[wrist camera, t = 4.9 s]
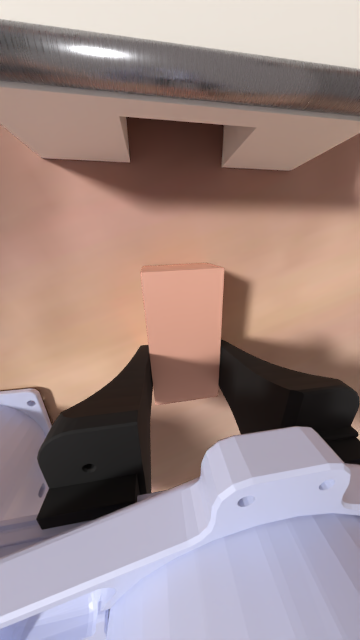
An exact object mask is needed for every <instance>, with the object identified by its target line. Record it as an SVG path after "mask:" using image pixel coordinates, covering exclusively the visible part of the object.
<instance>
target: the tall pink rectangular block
mask: <svg viewBox="0 0 360 640" xmlns="http://www.w3.org/2000/svg"><path fill="white" fill-rule="evenodd" d="M140 275H141V284H142V293H143V301H144V310H145V319H146V327H147V336H148V345H149V353H150V362H151V371H152V379H153V388H154V397H155V405H161V404H168V403H175V402H182V401H189V400H196V399H203V398H210V397H217V396H218V386H219V366H220V346H221V326H222V306H223V286H224V268H223V267H220V266H216V265H213V264H209V263H196V264H177V265H158V266H143V267H142V269H141V272H140Z"/></svg>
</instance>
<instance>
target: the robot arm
mask: <svg viewBox="0 0 360 640" xmlns="http://www.w3.org/2000/svg"><path fill="white" fill-rule="evenodd" d="M219 387H220V389H221V391H222V393H223V395H224V396H225V398H226V400H227V402H228V404H229V406H230V408H231V410H232V412H233V415H234V417H235V420H236V423H237V425H238V428H239V430H240V433H241V435H234V436H230V437H227V438H225V439H222V440H219V441H217V442H216V443H215V444H214V445H212V446H211V447H210V448H209V449H208V450H207V451H206V453H205V456H204V458H203V460H202V463H201V475H200V477H198V478H195V479H193V480H191V481H188V482H186V483H183V484H181V485H178V486H176V487H173V488H171V489H168V490H165V491H159V492H154V493H151V457H150V414H151V403H152V391H153V379H152V371H151V362H150V353H149V345H143V346H140V347H139V349H138V351H137V352H136V354H135V355H134V357H133V358H132V359H131V361H130V362H129V363H128V364H127V366H126V367H125V368H124V369H123V370H122V371H121V372H120V374H119V375H118V376H117V377H115V378H114V379H113V380H112V381H111V382H110V383H108V384H107V385H106V386H104V387H103V388H102V389H101V390H99V391H98V392H96V393H95V394H93V395H92V396H90V397H89V398H87V399H85V400H84V401H82V402H80V403H78V404H76V405H75V406H73V407H71V408H69V409H67V410H65V411H63V412H61V413H60V415H59V416H58V418H57V419H56V421H55V422H54V424H53V425H51V423H50V420H49V417H48V414H47V412H46V409H45V406H44V403H43V401H42V398H41V395H40V393H39V391H37V390H36V389H31V388H29V389H20V390H10V391H0V640H360V441H359V440H358V439H357V438H356V437H358V435H359V434H358V432H357V431H356V430H355V429H353V428H352V427H351V424H352V422H353V419H354V417H355V415H356V413H357V411H358V408H359V396H358V394H357V392H356V391H354V390H353V389H352V388H350V387H349V386H347V385H346V384H345V383H343V382H342V381H340V380H339V379H333V378H327V377H321V376H315V375H310V374H306V373H301V372H297V371H293V370H290V369H286V368H283V367H280V366H277V365H274V364H271V363H269V362H266V361H263V360H261V359H259V358H256V357H254V356H252V355H250V354H248V353H246V352H244V351H242V350H240V349H239V348H237V347H235V346H233V345H231V344H229V343H228V342H226V341H224V340H221V346H220V366H219ZM33 401H34V402H33Z"/></svg>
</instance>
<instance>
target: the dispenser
mask: <svg viewBox="0 0 360 640" xmlns="http://www.w3.org/2000/svg"><path fill="white" fill-rule="evenodd" d="M126 117H135V118H147V119H160V120H172V121H184V122H196V123H208V124H220V125H224V133H223V150H222V166H221V167H227V168H247V169H266V170H286V171H291V170H293V169H295V168H297V167H298V166H300V165H302V164H304V163H306V162H308V161H309V160H311V159H313V158H315V157H317V156H319V155H320V154H322V153H324V152H326V151H328V150H330V149H331V148H333V147H335V146H337V145H339V144H341V143H342V142H344V141H346V140H348V139H350V138H352V137H353V136H355V135H357V134H359V133H360V0H0V124H1V125H2V126H3V127H4V128H6V129H7V130H8V131H9V132H10V133H12V134H13V135H14V136H15V137H17V138H18V139H19V140H20V141H21V142H23V143H24V144H25V145H26V146H28V147H29V148H30V149H31V150H32V151H34V152H35V153H36V154H37V155H39V156H40V157H41V158H50V159H69V160H89V161H109V162H128V163H130V155H129V143H128V131H127V120H126Z"/></svg>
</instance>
